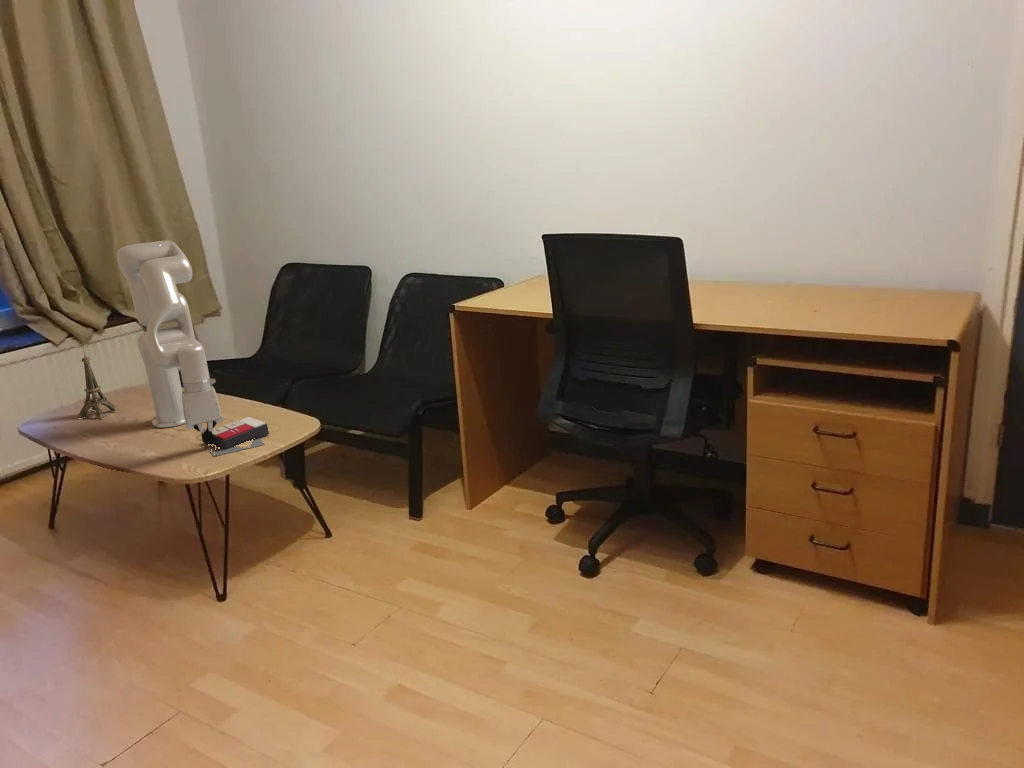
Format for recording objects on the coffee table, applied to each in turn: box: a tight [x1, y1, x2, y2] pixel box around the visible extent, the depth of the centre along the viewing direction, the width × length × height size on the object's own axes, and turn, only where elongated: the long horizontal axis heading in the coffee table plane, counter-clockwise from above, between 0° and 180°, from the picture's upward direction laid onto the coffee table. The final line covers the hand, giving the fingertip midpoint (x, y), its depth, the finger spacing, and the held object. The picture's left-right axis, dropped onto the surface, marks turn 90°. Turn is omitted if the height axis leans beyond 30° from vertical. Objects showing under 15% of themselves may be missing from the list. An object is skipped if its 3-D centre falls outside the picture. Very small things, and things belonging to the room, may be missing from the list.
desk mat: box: [204, 438, 265, 458], centre depth 246 cm, size 16×15×1 cm
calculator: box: [211, 416, 270, 450], centre depth 249 cm, size 11×4×15 cm
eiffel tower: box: [76, 348, 119, 420], centre depth 278 cm, size 11×11×25 cm
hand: (208, 443), depth 243 cm, fingers closed
